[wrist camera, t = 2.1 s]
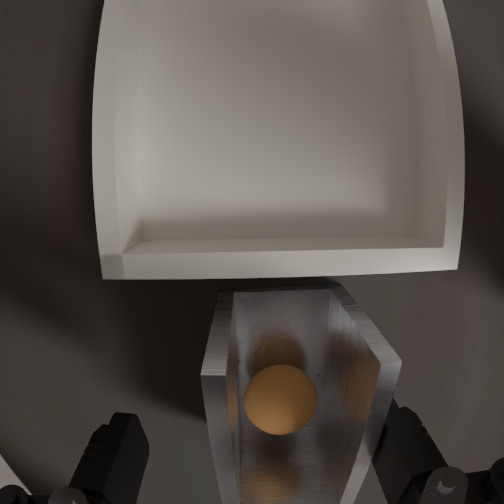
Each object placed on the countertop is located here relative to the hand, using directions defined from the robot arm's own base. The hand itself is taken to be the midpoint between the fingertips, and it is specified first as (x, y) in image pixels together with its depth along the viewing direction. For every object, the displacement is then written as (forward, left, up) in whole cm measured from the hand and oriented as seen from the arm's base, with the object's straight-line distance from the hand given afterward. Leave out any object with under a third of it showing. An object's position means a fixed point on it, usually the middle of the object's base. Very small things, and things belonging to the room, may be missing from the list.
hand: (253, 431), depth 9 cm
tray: (+8, -10, -4) cm, 13 cm away
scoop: (-1, -1, -4) cm, 5 cm away
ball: (-1, 0, -2) cm, 3 cm away
